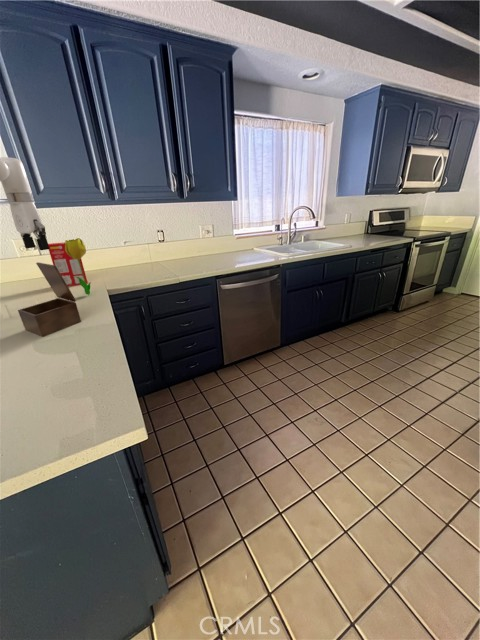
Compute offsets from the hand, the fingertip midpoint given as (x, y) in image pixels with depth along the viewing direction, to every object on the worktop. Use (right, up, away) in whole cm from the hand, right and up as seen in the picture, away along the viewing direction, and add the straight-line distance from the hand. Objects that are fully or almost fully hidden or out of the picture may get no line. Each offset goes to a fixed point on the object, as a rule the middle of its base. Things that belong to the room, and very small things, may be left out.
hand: (37, 248), depth 100 cm
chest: (-1, -29, +10) cm, 31 cm away
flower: (-7, -14, +45) cm, 48 cm away
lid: (+1, -12, +8) cm, 14 cm away
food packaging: (-27, -5, +65) cm, 71 cm away
